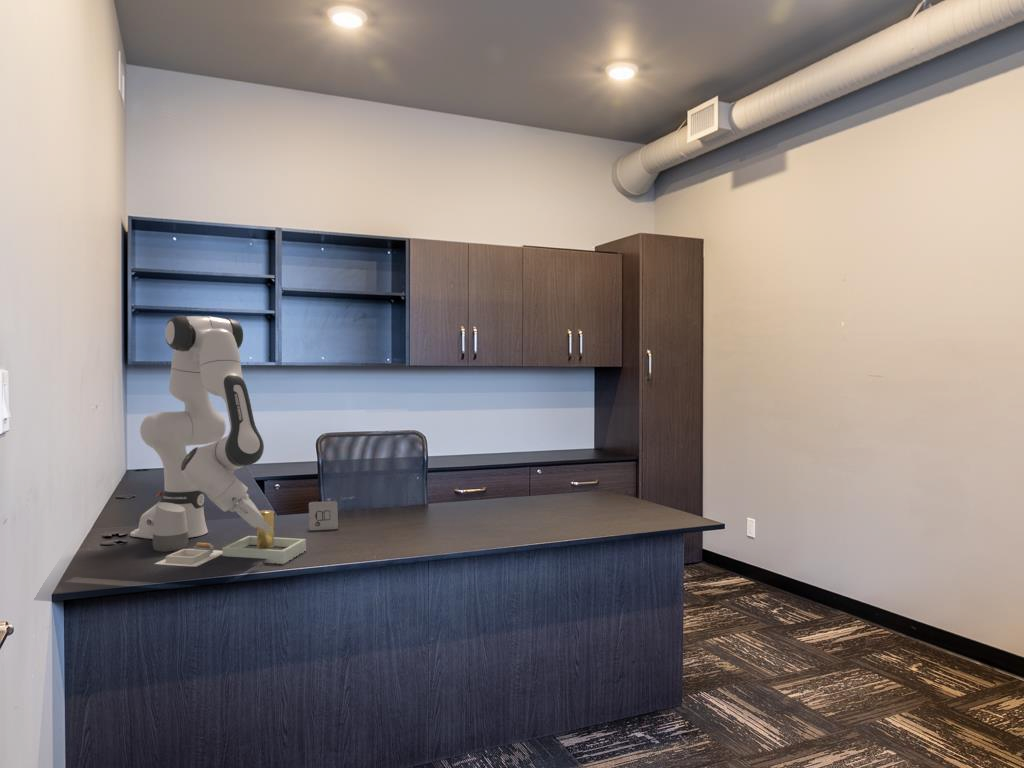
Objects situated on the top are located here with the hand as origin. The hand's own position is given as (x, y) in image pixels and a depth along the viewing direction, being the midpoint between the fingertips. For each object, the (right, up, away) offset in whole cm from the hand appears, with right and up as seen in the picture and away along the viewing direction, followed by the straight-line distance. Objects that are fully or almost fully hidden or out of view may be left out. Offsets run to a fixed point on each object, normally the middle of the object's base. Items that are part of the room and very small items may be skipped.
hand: (267, 527), depth 202 cm
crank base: (-18, -8, -8) cm, 21 cm away
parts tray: (-1, -8, 0) cm, 8 cm away
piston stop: (-1, -5, 0) cm, 5 cm away
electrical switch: (+6, -7, +34) cm, 36 cm away
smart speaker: (-29, -7, +2) cm, 30 cm away
